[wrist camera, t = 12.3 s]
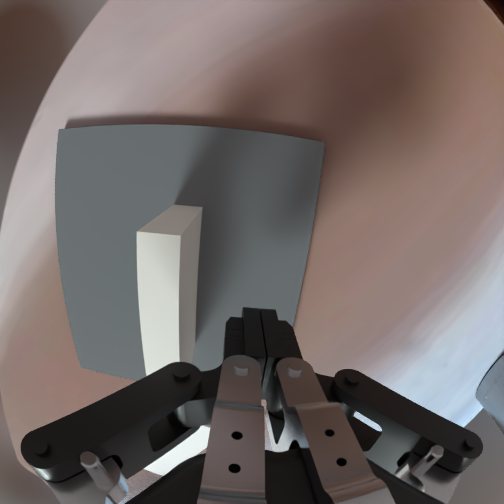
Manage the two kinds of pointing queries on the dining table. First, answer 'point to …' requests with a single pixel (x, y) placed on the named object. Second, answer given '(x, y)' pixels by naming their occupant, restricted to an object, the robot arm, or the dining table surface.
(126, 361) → the mat
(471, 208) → the dining table surface
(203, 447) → the smartphone
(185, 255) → the card box
